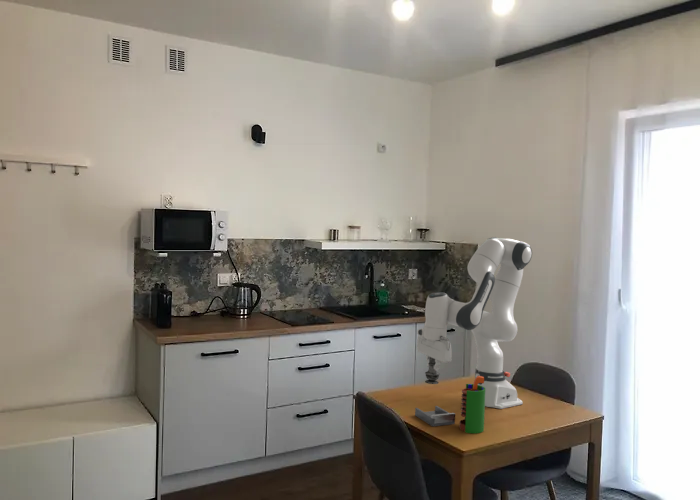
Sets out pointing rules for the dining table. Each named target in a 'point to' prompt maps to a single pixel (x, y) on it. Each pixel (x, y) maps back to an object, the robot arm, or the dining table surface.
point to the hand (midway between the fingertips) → (433, 368)
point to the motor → (473, 407)
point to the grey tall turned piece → (432, 373)
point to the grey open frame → (436, 417)
